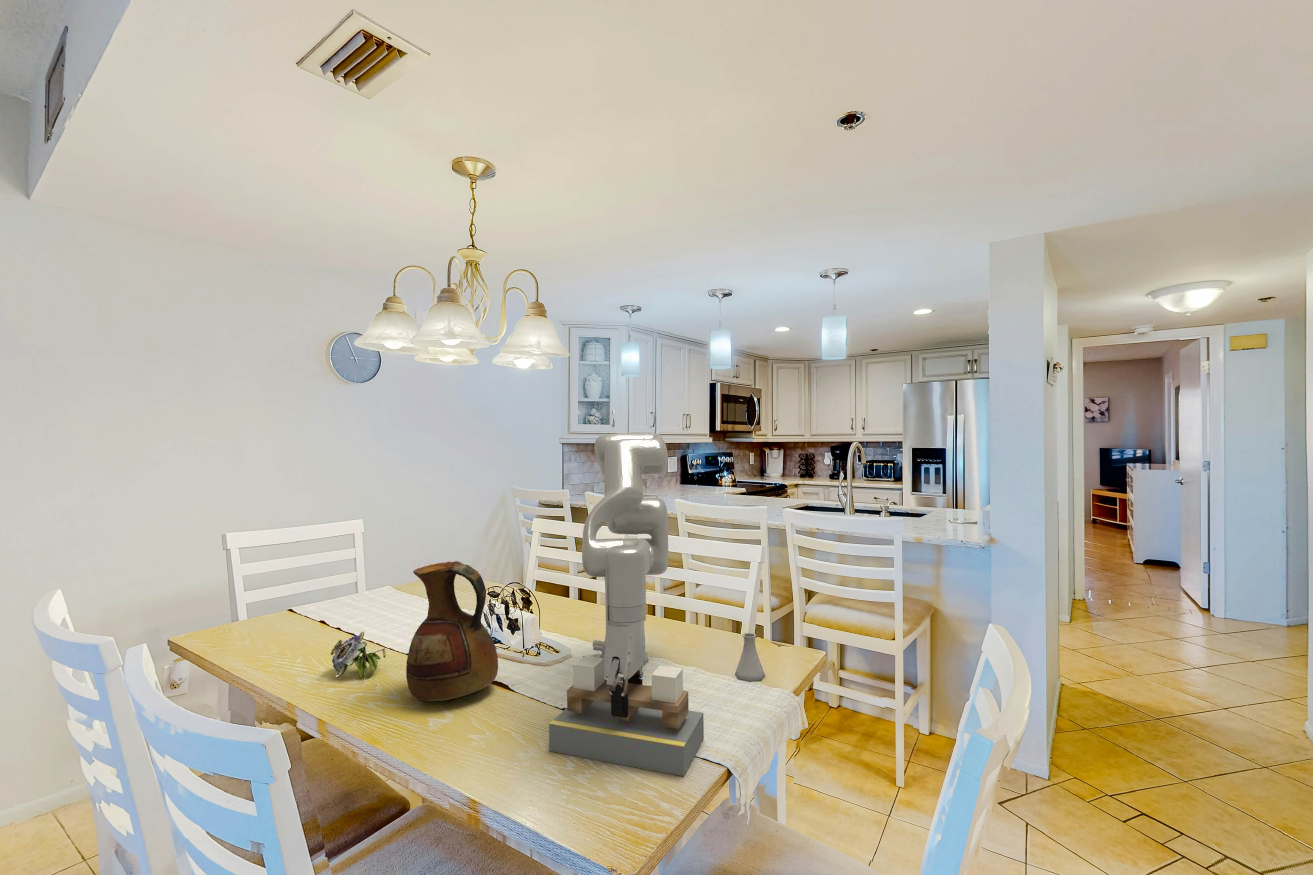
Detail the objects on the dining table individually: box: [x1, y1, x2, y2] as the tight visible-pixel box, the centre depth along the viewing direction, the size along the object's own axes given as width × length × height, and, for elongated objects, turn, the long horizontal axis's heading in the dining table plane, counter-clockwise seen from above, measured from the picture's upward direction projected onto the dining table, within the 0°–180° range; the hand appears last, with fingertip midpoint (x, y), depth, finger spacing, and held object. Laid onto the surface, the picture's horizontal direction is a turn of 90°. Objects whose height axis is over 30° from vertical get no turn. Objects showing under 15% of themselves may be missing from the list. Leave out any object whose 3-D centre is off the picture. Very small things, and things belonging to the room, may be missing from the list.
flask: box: [734, 632, 766, 682], centre depth 140 cm, size 7×7×10 cm
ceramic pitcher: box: [405, 560, 499, 702], centre depth 132 cm, size 20×20×30 cm
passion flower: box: [330, 631, 387, 679], centre depth 144 cm, size 11×11×12 cm
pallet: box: [566, 679, 690, 729], centre depth 108 cm, size 22×6×4 cm, turn 71°
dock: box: [548, 700, 705, 777], centre depth 108 cm, size 26×13×5 cm, turn 71°
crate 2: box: [651, 665, 684, 703], centre depth 106 cm, size 4×4×4 cm
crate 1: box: [572, 655, 605, 691], centre depth 111 cm, size 4×4×4 cm
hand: (627, 706), depth 108 cm, fingers closed on pallet, 6 cm apart
